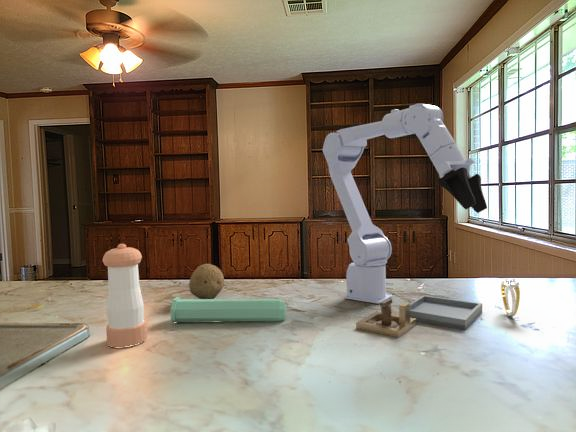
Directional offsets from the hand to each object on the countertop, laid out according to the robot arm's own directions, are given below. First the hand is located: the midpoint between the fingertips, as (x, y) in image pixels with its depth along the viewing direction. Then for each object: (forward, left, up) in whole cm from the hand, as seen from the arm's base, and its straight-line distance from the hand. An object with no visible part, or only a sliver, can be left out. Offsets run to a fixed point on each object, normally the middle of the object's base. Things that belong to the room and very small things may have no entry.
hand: (476, 208), depth 80 cm
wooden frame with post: (-15, -9, -24) cm, 29 cm away
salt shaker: (-53, -44, -24) cm, 73 cm away
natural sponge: (-61, -17, -24) cm, 68 cm away
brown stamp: (-15, -9, -24) cm, 29 cm away
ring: (+4, +11, -24) cm, 27 cm away
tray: (-8, +4, -24) cm, 25 cm away
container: (-45, -24, -24) cm, 57 cm away
